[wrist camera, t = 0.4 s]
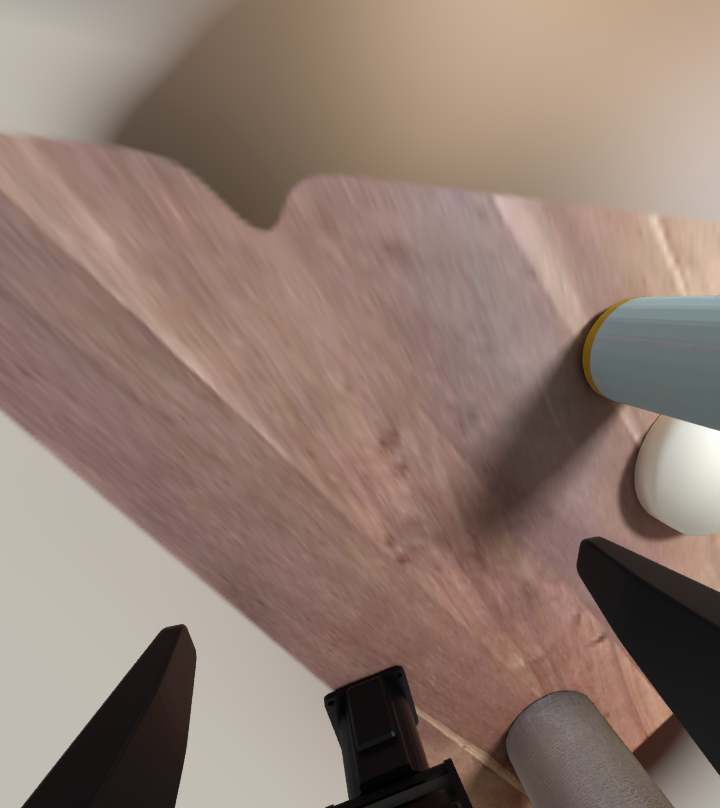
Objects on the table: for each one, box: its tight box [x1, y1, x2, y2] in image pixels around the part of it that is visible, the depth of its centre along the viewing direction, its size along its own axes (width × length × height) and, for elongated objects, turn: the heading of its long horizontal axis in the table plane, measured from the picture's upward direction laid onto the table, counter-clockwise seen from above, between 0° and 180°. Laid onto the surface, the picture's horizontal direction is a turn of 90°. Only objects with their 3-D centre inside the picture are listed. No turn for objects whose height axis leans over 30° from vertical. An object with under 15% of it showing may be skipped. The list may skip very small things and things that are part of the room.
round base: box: [634, 414, 720, 536], centre depth 30 cm, size 12×12×2 cm
